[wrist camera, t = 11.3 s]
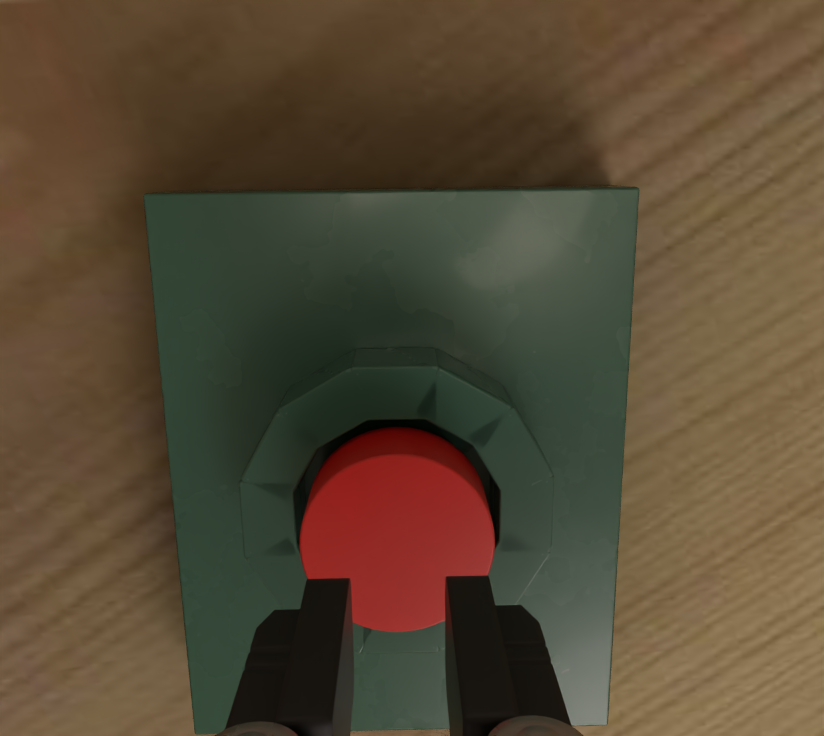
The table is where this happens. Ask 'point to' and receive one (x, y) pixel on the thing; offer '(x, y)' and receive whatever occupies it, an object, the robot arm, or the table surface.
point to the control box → (395, 405)
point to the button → (397, 525)
